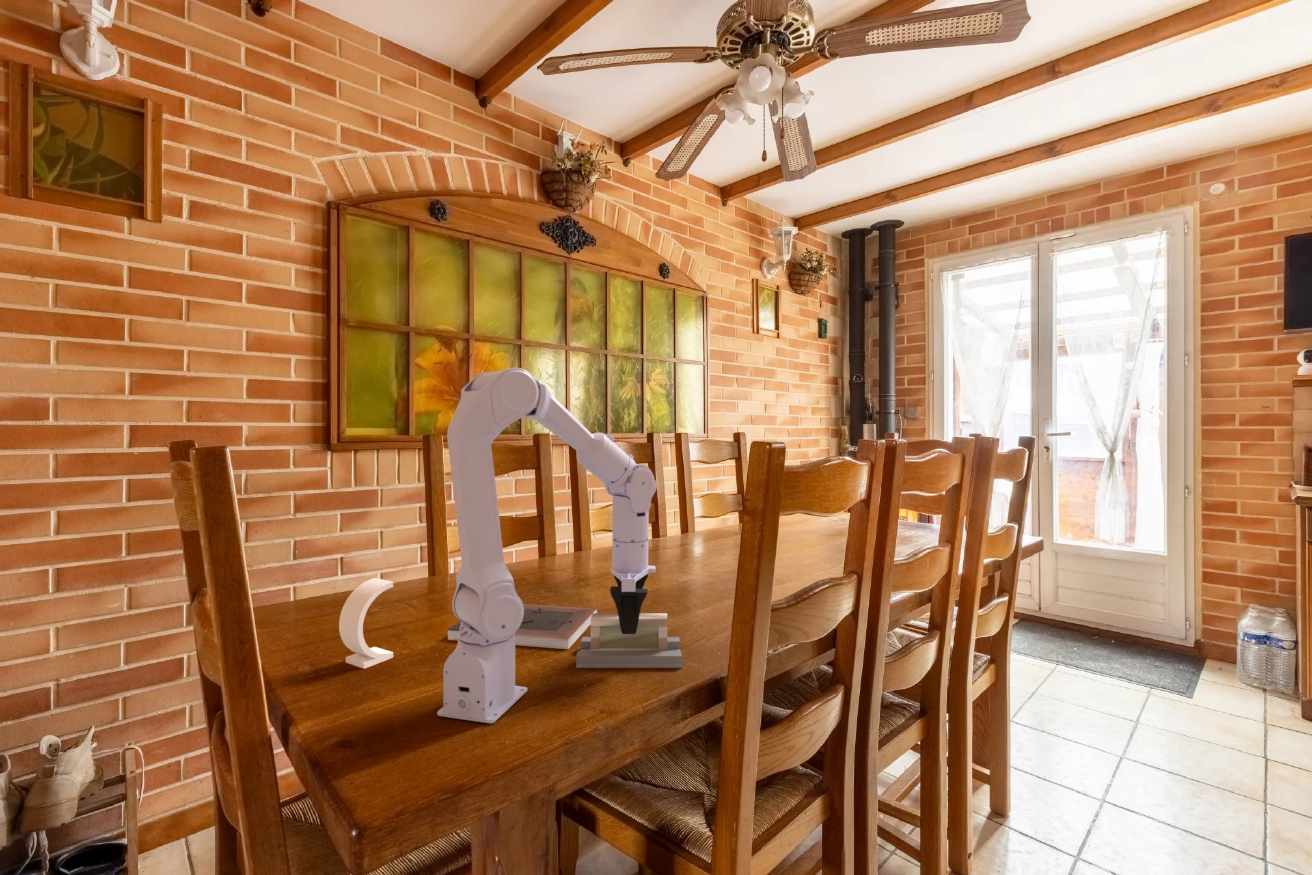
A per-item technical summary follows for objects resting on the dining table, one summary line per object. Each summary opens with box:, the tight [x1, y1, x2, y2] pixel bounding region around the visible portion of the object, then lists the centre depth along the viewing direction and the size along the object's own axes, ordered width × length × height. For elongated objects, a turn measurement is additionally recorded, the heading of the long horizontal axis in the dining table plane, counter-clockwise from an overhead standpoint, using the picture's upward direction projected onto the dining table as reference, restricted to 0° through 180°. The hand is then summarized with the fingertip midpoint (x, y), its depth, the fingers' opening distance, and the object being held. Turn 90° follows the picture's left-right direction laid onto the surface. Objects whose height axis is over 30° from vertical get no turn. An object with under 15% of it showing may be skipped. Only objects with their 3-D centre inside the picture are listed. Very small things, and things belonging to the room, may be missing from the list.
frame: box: [590, 612, 669, 651], centre depth 92 cm, size 3×12×6 cm, turn 90°
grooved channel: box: [575, 636, 683, 669], centre depth 92 cm, size 8×16×2 cm, turn 91°
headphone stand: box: [338, 577, 394, 670], centre depth 90 cm, size 5×6×12 cm
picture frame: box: [447, 603, 598, 650], centre depth 106 cm, size 16×2×22 cm
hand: (629, 624), depth 92 cm, fingers open, 7 cm apart
